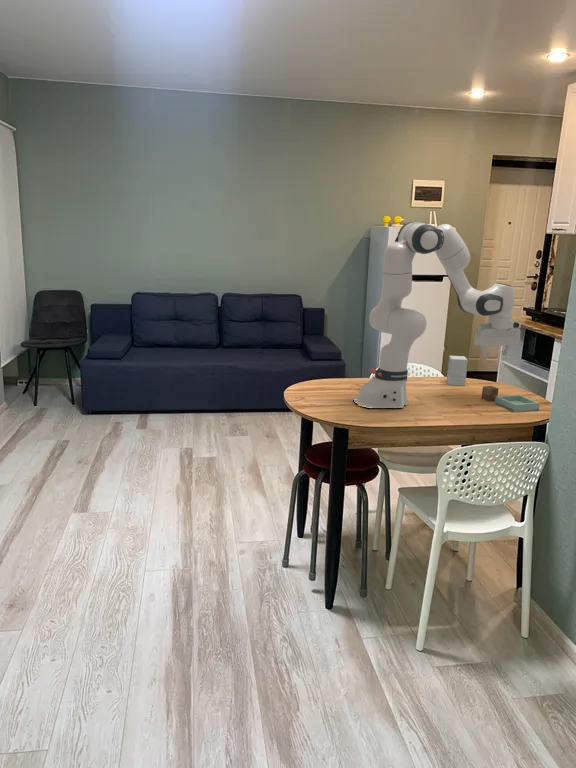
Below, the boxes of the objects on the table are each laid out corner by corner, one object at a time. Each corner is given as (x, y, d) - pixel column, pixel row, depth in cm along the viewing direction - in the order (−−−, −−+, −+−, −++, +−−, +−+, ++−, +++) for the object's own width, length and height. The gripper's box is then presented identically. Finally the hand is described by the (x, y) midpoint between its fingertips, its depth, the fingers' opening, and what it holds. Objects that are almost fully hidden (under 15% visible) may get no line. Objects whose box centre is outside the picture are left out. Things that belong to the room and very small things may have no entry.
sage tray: (514, 412, 230) (515, 405, 230) (494, 403, 241) (495, 396, 240) (538, 410, 234) (539, 403, 233) (518, 401, 245) (519, 394, 244)
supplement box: (462, 382, 273) (465, 356, 270) (465, 386, 266) (468, 359, 263) (446, 381, 274) (448, 355, 271) (448, 385, 267) (451, 358, 263)
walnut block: (488, 401, 243) (489, 389, 242) (481, 398, 247) (482, 386, 246) (496, 401, 245) (498, 388, 243) (490, 398, 249) (491, 385, 247)
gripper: (482, 325, 231) (478, 358, 235) (524, 323, 238) (520, 356, 241) (473, 322, 237) (469, 355, 241) (514, 321, 243) (509, 353, 247)
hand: (495, 356), depth 241 cm, fingers open, 8 cm apart
